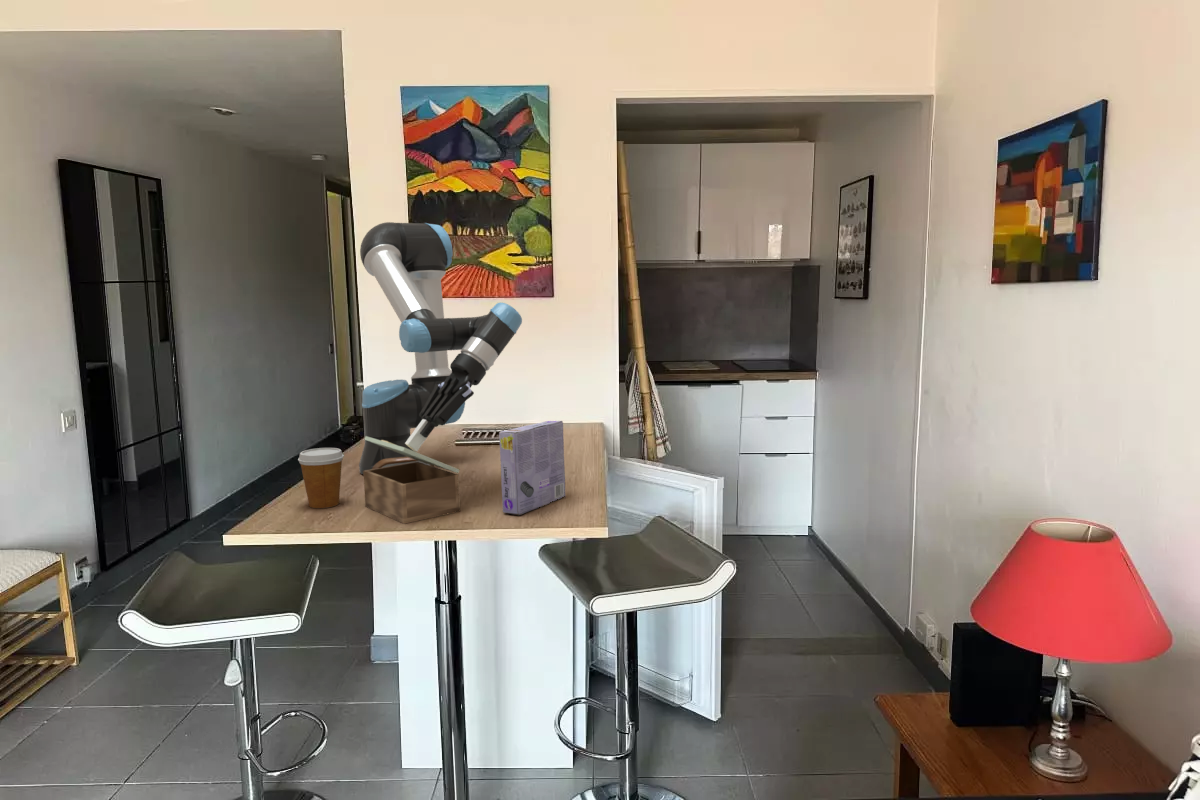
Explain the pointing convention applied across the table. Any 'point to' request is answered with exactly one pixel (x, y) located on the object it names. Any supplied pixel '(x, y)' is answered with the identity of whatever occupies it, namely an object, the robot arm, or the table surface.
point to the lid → (411, 454)
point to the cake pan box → (532, 466)
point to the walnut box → (411, 491)
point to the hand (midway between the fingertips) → (410, 447)
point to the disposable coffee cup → (322, 476)
